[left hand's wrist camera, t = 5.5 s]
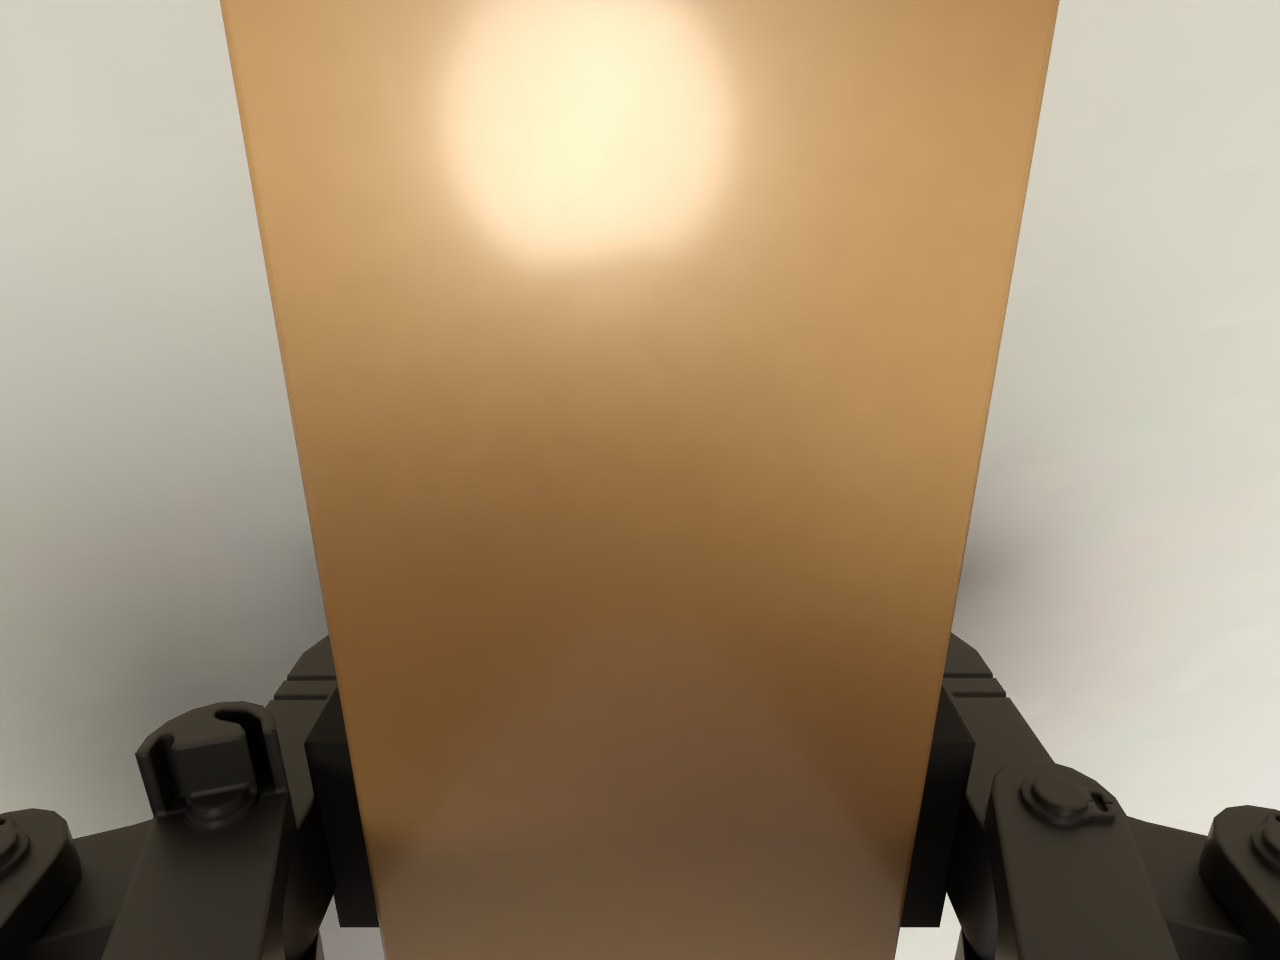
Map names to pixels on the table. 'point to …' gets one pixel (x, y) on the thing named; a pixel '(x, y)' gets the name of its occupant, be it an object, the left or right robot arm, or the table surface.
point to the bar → (639, 440)
